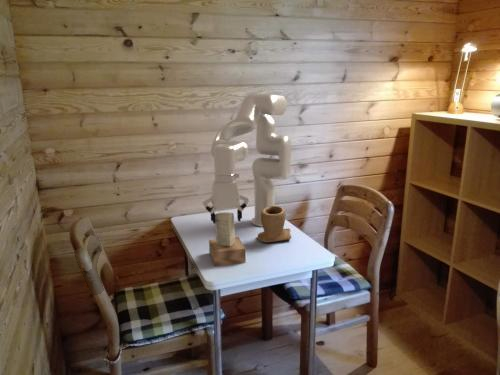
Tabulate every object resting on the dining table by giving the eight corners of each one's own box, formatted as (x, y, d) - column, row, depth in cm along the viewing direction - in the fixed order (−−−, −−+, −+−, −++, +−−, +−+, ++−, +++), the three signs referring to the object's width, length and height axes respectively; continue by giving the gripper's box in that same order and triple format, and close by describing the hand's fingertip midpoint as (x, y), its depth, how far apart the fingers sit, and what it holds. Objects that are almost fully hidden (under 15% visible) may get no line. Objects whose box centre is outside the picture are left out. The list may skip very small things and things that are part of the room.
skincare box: (235, 242, 157) (234, 213, 154) (230, 247, 153) (229, 216, 150) (220, 240, 160) (219, 211, 157) (215, 244, 156) (214, 214, 153)
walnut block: (238, 250, 165) (238, 236, 163) (245, 263, 153) (245, 248, 152) (209, 253, 162) (208, 239, 160) (214, 267, 151) (213, 252, 149)
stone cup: (262, 247, 167) (262, 212, 163) (255, 236, 178) (255, 204, 174) (297, 243, 170) (298, 209, 166) (288, 233, 181) (288, 201, 178)
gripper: (246, 174, 155) (247, 216, 159) (200, 176, 151) (203, 219, 156) (250, 179, 147) (250, 223, 152) (202, 182, 144) (204, 226, 149)
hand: (226, 221), depth 154 cm, fingers open, 9 cm apart
